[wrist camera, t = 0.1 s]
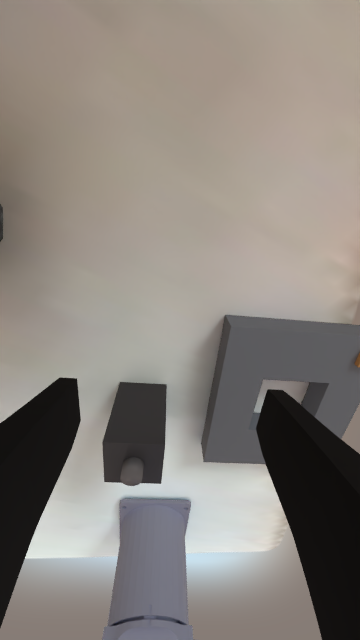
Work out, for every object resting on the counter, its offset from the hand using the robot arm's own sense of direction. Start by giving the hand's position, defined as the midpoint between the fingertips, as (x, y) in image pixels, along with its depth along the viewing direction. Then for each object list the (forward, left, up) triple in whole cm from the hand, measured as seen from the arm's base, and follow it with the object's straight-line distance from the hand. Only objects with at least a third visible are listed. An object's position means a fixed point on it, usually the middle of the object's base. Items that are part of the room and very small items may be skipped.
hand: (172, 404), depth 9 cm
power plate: (-7, -10, -10) cm, 16 cm away
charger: (-9, +2, -10) cm, 14 cm away
